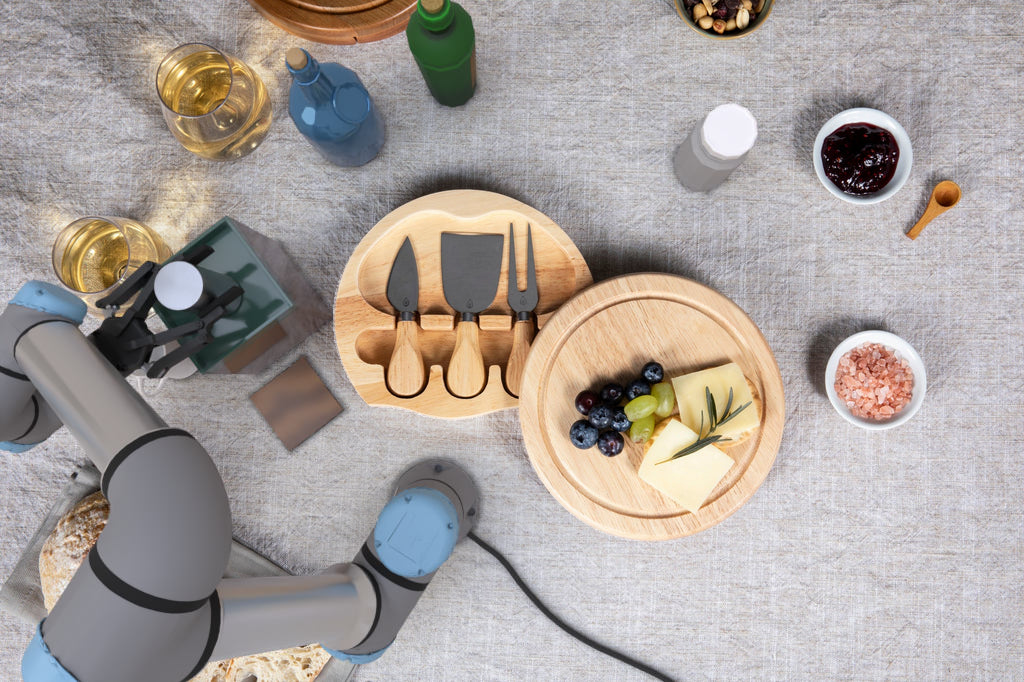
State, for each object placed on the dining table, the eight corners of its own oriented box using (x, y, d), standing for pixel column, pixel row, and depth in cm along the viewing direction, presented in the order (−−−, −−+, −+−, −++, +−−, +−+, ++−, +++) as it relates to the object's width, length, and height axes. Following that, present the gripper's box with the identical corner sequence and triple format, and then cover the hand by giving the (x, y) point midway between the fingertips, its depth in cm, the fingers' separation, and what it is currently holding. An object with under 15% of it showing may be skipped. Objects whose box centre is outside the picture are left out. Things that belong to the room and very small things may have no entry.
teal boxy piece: (333, 316, 119) (293, 304, 98) (257, 374, 119) (201, 374, 98) (277, 242, 120) (226, 214, 99) (202, 299, 120) (134, 284, 99)
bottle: (493, 75, 121) (484, -14, 93) (462, 124, 120) (443, 50, 92) (444, 45, 121) (420, -53, 93) (412, 94, 121) (379, 10, 93)
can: (250, 300, 100) (212, 290, 88) (215, 326, 100) (172, 320, 88) (224, 265, 101) (183, 251, 89) (189, 292, 100) (144, 281, 88)
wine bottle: (306, 160, 120) (235, 90, 90) (325, 91, 121) (260, -2, 91) (379, 178, 120) (332, 113, 90) (397, 108, 121) (356, 20, 91)
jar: (722, 196, 119) (758, 165, 101) (668, 188, 119) (694, 155, 101) (730, 143, 119) (767, 103, 101) (676, 135, 119) (703, 93, 101)
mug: (188, 402, 119) (150, 405, 107) (143, 387, 119) (101, 389, 107) (209, 339, 119) (174, 335, 107) (164, 325, 119) (124, 319, 107)
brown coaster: (344, 410, 118) (343, 410, 118) (290, 451, 118) (289, 451, 117) (304, 356, 119) (303, 356, 118) (250, 397, 119) (249, 397, 118)
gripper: (70, 315, 97) (196, 219, 97) (148, 422, 96) (275, 325, 96) (32, 310, 89) (169, 206, 90) (116, 426, 88) (254, 321, 89)
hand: (224, 268), depth 93 cm, fingers closed on can, 7 cm apart
